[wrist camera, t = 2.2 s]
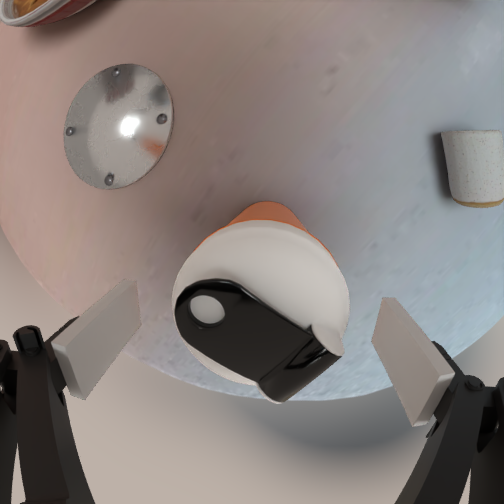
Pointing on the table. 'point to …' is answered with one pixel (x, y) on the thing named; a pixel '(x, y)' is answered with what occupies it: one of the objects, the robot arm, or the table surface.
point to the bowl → (39, 11)
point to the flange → (118, 126)
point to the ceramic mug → (475, 167)
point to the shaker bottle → (263, 302)
